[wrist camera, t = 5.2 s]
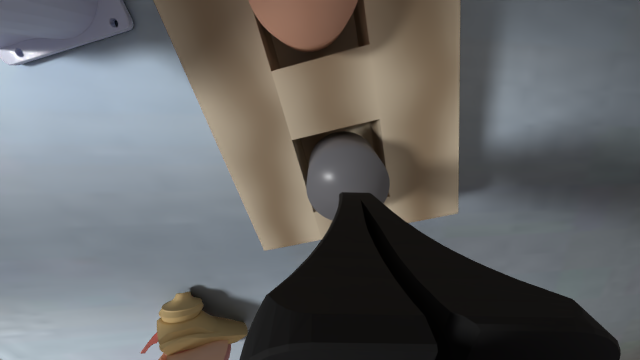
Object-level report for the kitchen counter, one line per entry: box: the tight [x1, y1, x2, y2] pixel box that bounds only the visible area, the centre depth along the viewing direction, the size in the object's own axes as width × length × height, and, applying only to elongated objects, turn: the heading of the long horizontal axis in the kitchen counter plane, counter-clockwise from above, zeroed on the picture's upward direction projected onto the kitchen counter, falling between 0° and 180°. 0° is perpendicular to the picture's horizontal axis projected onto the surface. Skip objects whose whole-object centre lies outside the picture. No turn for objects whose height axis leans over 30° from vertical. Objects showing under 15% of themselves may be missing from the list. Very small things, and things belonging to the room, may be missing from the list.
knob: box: [306, 131, 390, 221], centre depth 14 cm, size 4×4×4 cm
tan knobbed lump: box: [140, 292, 248, 360], centre depth 24 cm, size 9×10×10 cm
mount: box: [153, 0, 460, 251], centre depth 13 cm, size 14×28×4 cm, turn 14°
